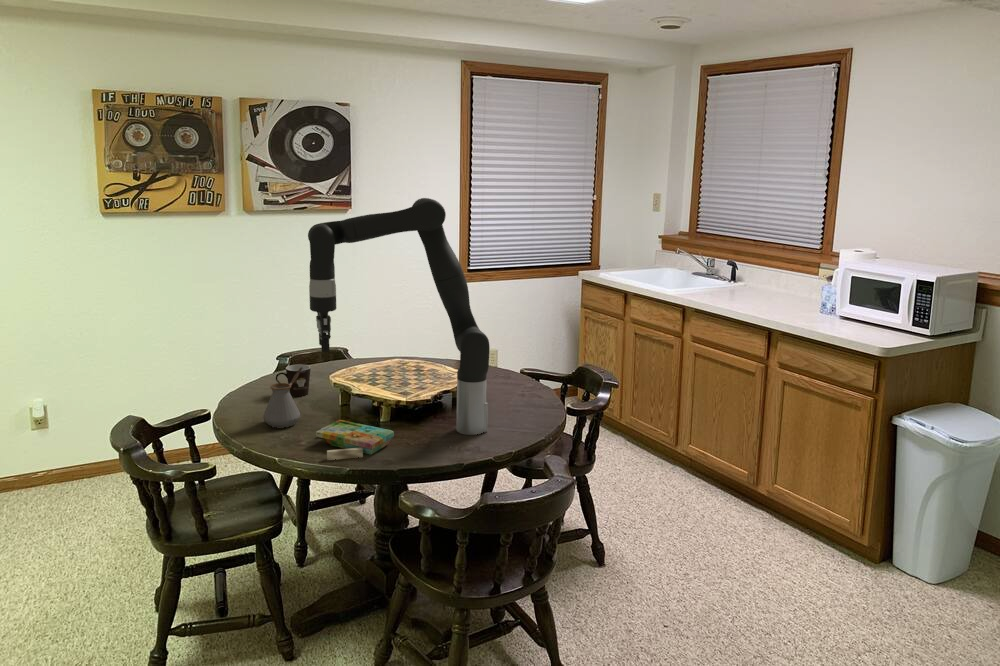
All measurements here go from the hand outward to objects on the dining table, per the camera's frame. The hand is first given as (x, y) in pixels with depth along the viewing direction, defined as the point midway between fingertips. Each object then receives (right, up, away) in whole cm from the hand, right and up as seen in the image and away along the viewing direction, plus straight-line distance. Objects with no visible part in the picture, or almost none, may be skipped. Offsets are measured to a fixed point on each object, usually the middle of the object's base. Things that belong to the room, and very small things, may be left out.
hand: (324, 348), depth 226 cm
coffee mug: (-22, -18, +52) cm, 59 cm away
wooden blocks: (+4, -29, +4) cm, 30 cm away
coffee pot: (-17, -24, +26) cm, 39 cm away
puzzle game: (+8, -29, +5) cm, 30 cm away
